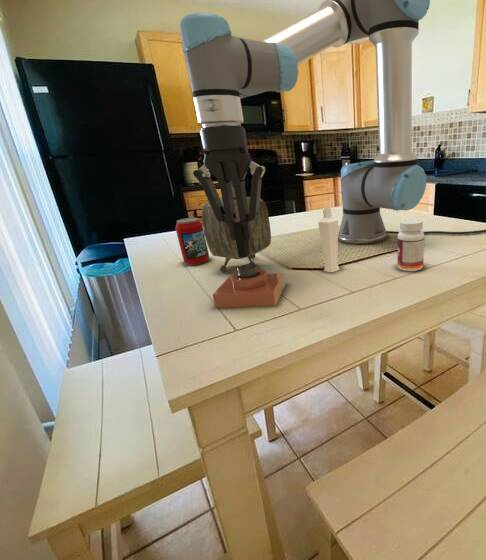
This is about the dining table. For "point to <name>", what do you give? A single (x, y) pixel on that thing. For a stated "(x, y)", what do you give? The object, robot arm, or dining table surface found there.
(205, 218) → the tabletop clock
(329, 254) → the perfume bottle
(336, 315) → the dining table surface
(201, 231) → the beverage can
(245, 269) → the dark grey short cylinder
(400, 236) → the pill bottle
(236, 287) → the brown stepped base
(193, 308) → the dining table surface
